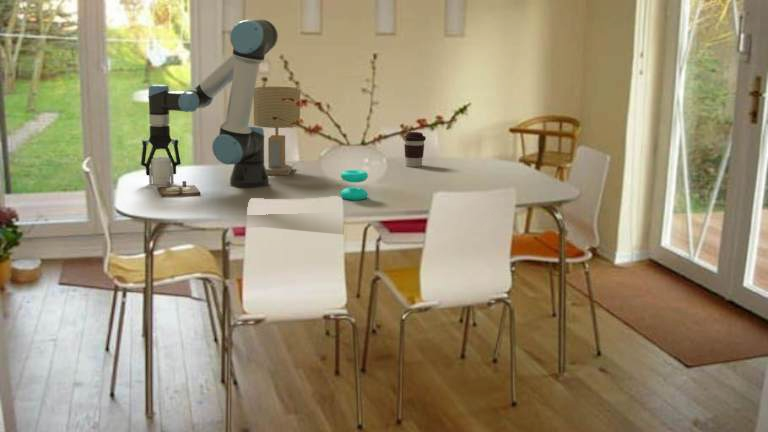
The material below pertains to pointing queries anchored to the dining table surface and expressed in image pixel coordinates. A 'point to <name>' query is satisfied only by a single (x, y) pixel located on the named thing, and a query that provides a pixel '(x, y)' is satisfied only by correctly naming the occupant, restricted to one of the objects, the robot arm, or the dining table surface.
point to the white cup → (161, 170)
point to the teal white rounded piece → (354, 192)
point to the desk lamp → (276, 122)
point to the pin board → (178, 190)
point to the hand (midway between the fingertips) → (161, 182)
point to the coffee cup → (414, 149)
